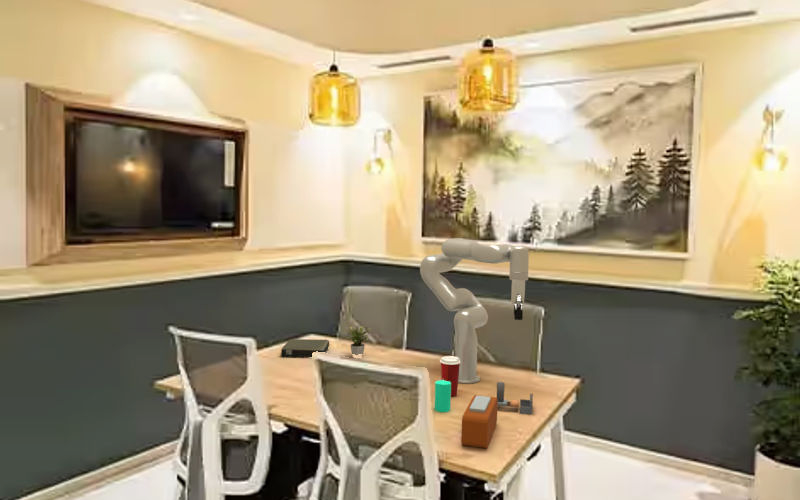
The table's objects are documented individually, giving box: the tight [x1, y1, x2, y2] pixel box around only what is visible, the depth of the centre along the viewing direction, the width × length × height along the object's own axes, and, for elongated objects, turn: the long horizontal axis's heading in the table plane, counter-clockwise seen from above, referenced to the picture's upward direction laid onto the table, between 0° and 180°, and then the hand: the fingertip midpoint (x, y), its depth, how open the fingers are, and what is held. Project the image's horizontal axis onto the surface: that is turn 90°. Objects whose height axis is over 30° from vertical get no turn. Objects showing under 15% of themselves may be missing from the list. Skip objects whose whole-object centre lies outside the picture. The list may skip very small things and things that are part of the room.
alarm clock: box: [460, 394, 498, 449], centre depth 204 cm, size 24×8×11 cm, turn 163°
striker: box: [496, 381, 508, 406], centre depth 231 cm, size 5×4×9 cm
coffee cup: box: [439, 355, 460, 398], centre depth 245 cm, size 8×8×15 cm
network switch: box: [280, 338, 330, 358], centre depth 307 cm, size 23×24×5 cm
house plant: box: [345, 325, 373, 355], centre depth 298 cm, size 14×14×16 cm
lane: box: [497, 400, 519, 413], centre depth 231 cm, size 17×7×2 cm, turn 77°
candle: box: [434, 379, 452, 413], centre depth 227 cm, size 6×6×12 cm
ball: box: [509, 399, 520, 408], centre depth 230 cm, size 3×3×3 cm
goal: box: [519, 393, 534, 415], centre depth 229 cm, size 5×9×5 cm, turn 167°
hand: (518, 317), depth 247 cm, fingers open, 9 cm apart
